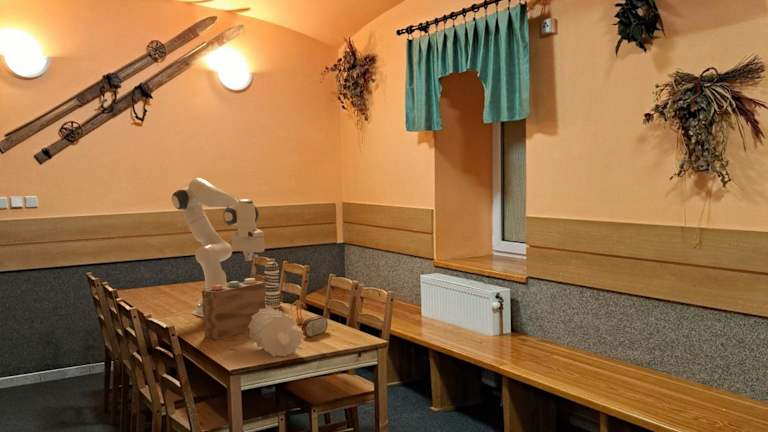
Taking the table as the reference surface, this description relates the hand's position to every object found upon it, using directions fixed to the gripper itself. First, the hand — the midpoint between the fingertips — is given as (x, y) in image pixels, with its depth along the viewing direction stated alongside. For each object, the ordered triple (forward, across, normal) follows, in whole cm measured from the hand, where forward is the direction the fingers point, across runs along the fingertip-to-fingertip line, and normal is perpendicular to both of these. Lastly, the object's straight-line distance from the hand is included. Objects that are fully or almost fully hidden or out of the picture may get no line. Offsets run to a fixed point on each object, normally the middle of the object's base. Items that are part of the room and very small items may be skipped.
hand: (248, 260), depth 337 cm
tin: (+34, +39, +4) cm, 52 cm away
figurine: (+34, +16, +17) cm, 41 cm away
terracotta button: (+12, 0, -20) cm, 23 cm away
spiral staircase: (+34, +44, -26) cm, 61 cm away
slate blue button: (+12, 0, -10) cm, 15 cm away
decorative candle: (+33, -28, +41) cm, 60 cm away
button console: (+33, 0, -10) cm, 35 cm away
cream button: (+12, 0, 0) cm, 12 cm away
